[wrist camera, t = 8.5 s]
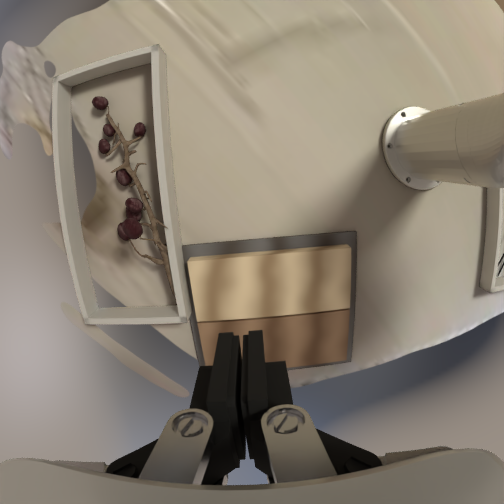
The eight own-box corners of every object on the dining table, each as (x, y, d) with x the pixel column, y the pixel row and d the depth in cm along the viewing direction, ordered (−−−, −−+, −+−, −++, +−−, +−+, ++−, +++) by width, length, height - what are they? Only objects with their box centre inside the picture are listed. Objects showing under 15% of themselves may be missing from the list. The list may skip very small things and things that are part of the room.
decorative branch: (72, 90, 30) (175, 296, 31) (126, 87, 37) (228, 264, 38) (52, 144, 37) (136, 319, 38) (99, 135, 44) (182, 290, 45)
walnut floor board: (355, 231, 42) (361, 234, 39) (350, 360, 47) (354, 368, 45) (178, 245, 42) (174, 250, 40) (201, 373, 48) (199, 382, 45)
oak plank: (346, 244, 42) (351, 247, 40) (346, 302, 44) (349, 308, 42) (190, 257, 42) (187, 261, 40) (199, 315, 44) (197, 321, 42)
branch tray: (166, 54, 35) (158, 44, 31) (192, 310, 45) (187, 322, 41) (66, 83, 35) (53, 77, 31) (95, 313, 45) (84, 324, 41)
